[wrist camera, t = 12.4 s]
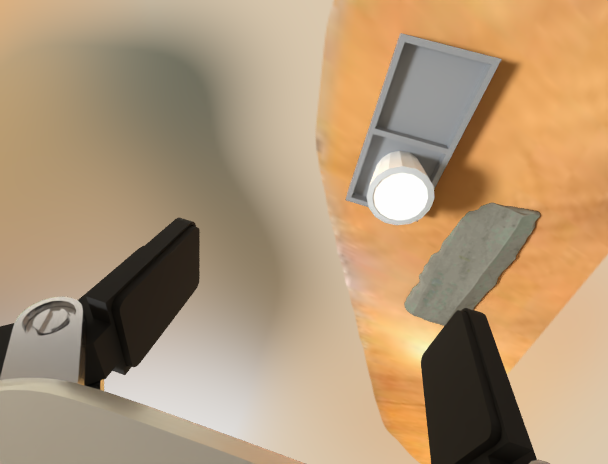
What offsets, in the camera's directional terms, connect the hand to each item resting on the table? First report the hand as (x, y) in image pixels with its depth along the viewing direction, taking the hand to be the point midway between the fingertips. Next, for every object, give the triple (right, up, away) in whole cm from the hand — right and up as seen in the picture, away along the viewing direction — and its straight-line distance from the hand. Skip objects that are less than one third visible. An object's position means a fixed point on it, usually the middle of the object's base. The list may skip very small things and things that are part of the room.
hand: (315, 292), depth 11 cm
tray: (+12, +14, +25) cm, 31 cm away
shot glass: (+11, +10, +27) cm, 30 cm away
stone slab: (+23, -3, +33) cm, 41 cm away
